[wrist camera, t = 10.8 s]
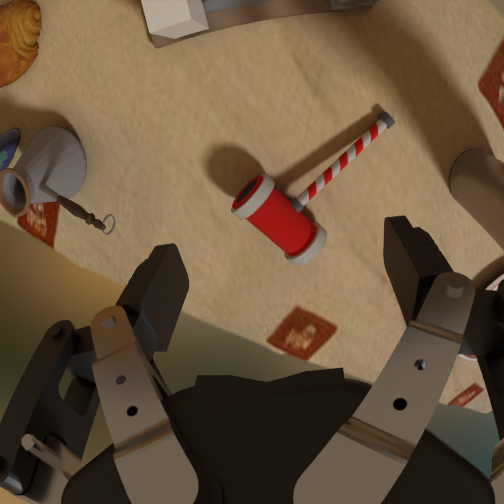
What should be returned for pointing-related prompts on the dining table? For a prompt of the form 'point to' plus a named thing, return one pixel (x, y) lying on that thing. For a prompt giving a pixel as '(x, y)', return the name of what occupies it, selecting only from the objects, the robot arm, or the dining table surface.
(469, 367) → the dining table surface
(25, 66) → the croissant
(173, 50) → the dining table surface
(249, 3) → the base
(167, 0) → the gauge slider
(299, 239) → the toy hammer
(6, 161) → the flask
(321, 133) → the dining table surface
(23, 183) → the coffee pot
